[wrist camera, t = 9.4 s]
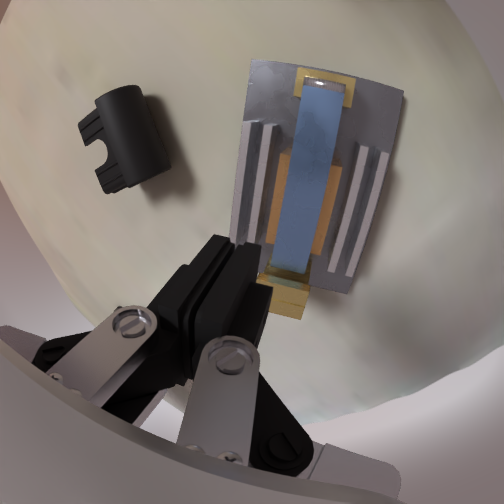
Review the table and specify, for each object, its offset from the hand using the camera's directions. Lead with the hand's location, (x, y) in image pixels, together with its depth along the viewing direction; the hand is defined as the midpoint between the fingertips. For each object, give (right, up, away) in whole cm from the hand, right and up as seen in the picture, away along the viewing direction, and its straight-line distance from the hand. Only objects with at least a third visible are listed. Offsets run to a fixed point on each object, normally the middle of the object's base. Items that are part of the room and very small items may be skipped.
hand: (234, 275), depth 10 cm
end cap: (-12, +14, +20) cm, 27 cm away
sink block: (+6, +8, +18) cm, 20 cm away
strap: (+5, +7, +11) cm, 14 cm away
